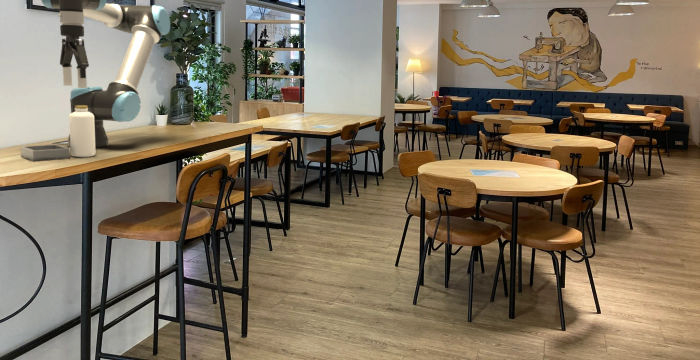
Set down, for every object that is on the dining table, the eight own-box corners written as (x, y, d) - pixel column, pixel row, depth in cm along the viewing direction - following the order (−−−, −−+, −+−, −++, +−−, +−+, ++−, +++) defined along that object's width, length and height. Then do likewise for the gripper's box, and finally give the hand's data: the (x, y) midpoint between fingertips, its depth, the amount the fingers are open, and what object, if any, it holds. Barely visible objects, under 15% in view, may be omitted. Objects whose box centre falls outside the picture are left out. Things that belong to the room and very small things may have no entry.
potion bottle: (77, 153, 233) (75, 104, 229) (99, 154, 232) (97, 105, 229) (66, 157, 224) (64, 106, 221) (89, 158, 224) (87, 107, 221)
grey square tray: (56, 153, 230) (56, 144, 230) (69, 158, 222) (69, 148, 221) (21, 156, 222) (20, 146, 221) (33, 161, 214) (33, 151, 213)
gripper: (48, 24, 225) (51, 84, 229) (74, 23, 207) (77, 89, 212) (69, 25, 230) (72, 84, 234) (97, 25, 212) (99, 88, 217)
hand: (75, 86), depth 223 cm, fingers open, 13 cm apart
